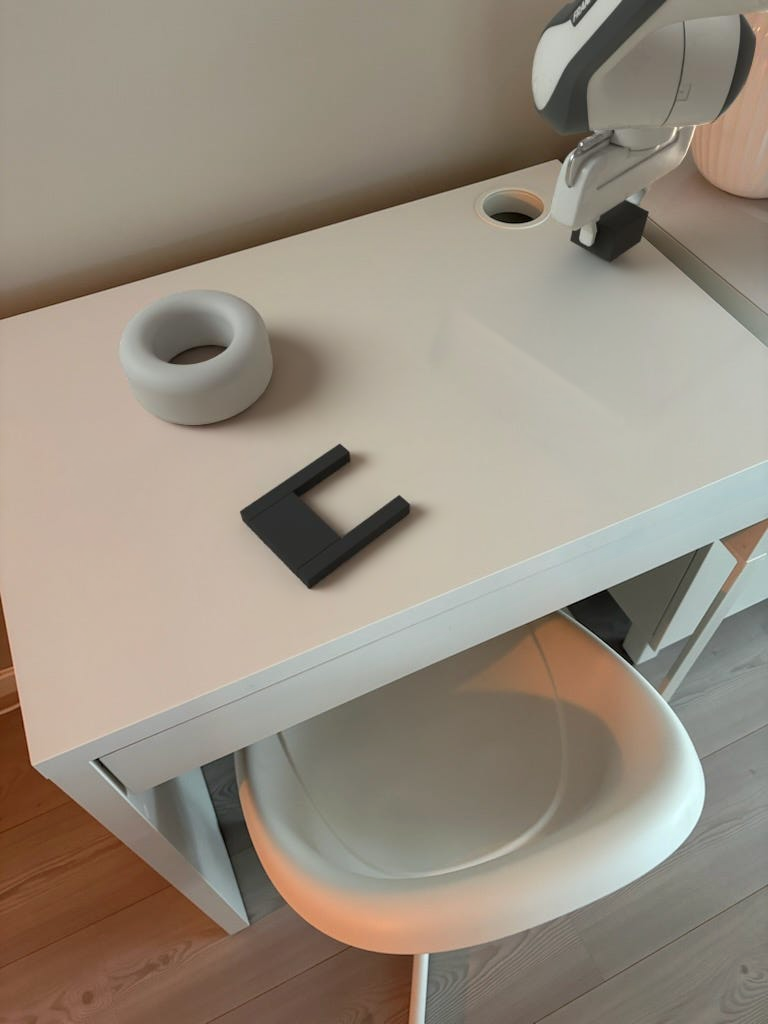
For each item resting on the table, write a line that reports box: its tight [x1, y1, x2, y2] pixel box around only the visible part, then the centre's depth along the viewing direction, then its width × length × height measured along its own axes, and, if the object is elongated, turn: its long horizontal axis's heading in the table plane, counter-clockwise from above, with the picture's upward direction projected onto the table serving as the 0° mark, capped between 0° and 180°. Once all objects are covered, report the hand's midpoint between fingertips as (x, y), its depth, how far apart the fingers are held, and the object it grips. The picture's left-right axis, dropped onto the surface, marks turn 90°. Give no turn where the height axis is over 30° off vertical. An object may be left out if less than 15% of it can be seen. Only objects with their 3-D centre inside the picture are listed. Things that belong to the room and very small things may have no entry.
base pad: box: [239, 443, 411, 590], centre depth 69 cm, size 10×12×2 cm
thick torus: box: [118, 289, 274, 426], centre depth 78 cm, size 15×15×7 cm
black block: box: [569, 200, 650, 263], centre depth 89 cm, size 6×6×4 cm
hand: (608, 228), depth 89 cm, fingers closed on black block, 6 cm apart
